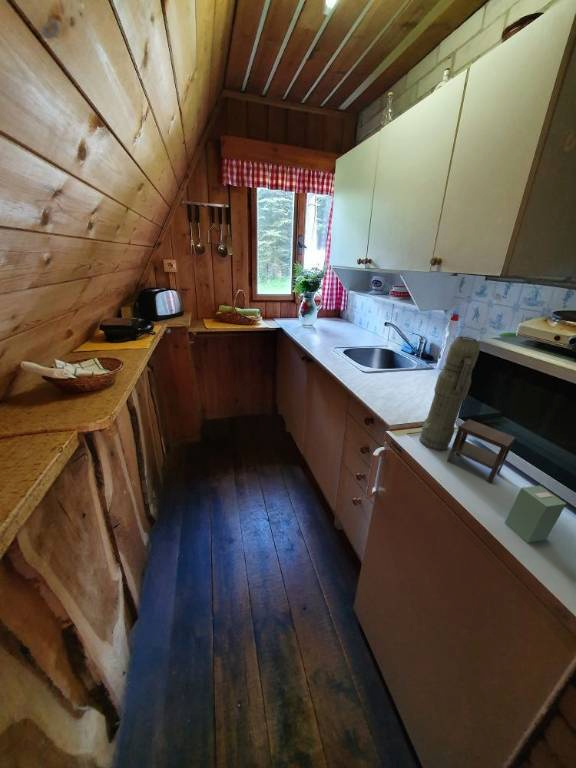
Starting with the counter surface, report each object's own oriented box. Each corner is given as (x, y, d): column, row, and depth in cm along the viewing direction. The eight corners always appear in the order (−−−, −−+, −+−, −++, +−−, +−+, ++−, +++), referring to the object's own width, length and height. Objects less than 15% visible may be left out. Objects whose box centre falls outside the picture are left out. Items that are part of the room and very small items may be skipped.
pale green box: (522, 519, 71) (540, 484, 67) (546, 539, 66) (566, 503, 62) (504, 522, 70) (521, 487, 66) (527, 543, 65) (547, 505, 61)
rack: (499, 472, 88) (515, 437, 84) (491, 483, 83) (507, 446, 78) (456, 452, 96) (468, 419, 91) (446, 461, 91) (459, 426, 86)
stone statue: (440, 435, 105) (473, 335, 92) (454, 455, 94) (494, 345, 81) (414, 432, 105) (443, 332, 93) (425, 451, 94) (461, 341, 82)
